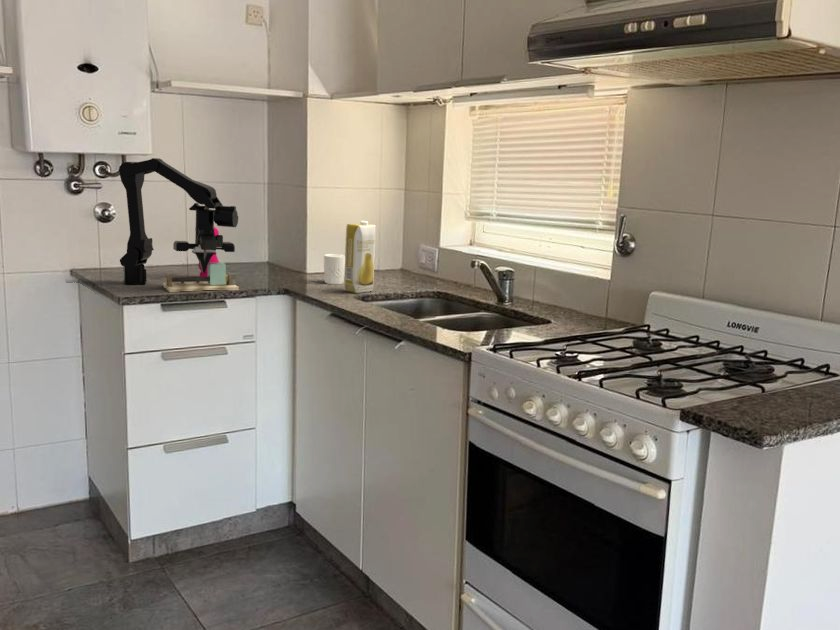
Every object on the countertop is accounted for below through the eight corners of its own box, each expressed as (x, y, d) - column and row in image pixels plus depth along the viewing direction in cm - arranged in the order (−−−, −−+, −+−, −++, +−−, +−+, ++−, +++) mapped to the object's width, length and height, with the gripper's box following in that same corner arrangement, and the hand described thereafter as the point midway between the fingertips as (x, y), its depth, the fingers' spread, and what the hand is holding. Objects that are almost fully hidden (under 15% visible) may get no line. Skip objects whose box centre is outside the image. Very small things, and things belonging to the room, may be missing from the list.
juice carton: (356, 294, 264) (359, 222, 260) (340, 290, 270) (342, 219, 265) (376, 291, 271) (379, 221, 267) (360, 288, 276) (363, 219, 272)
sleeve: (210, 284, 260) (210, 264, 258) (207, 283, 263) (207, 262, 262) (225, 284, 262) (225, 264, 261) (222, 282, 266) (222, 262, 264)
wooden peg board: (169, 292, 250) (169, 277, 249) (162, 286, 261) (162, 272, 260) (238, 290, 260) (238, 276, 260) (229, 284, 271) (229, 270, 270)
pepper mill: (205, 280, 276) (207, 222, 272) (193, 276, 281) (195, 220, 277) (223, 279, 281) (225, 222, 278) (211, 276, 286) (213, 220, 283)
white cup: (318, 283, 283) (319, 255, 281) (330, 280, 290) (331, 253, 288) (337, 285, 280) (338, 257, 278) (349, 282, 287) (350, 255, 285)
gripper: (179, 226, 246) (179, 276, 249) (239, 228, 254) (238, 276, 257) (173, 223, 256) (172, 271, 258) (231, 225, 264) (229, 271, 267)
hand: (203, 272), depth 260 cm, fingers closed
